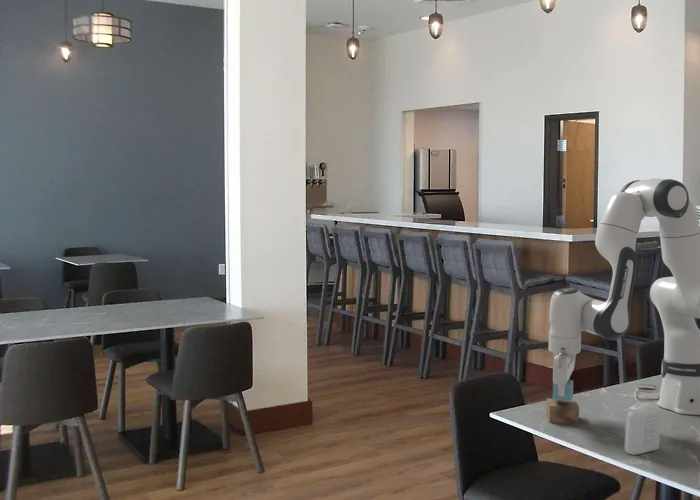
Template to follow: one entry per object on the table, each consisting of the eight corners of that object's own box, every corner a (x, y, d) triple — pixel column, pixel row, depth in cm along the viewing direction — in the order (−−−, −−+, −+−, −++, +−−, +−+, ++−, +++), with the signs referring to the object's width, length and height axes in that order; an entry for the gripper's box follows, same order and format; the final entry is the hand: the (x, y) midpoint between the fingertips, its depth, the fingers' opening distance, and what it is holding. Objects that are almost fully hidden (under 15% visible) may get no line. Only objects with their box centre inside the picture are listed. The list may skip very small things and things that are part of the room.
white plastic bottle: (647, 444, 205) (649, 398, 204) (661, 449, 202) (663, 401, 201) (621, 452, 200) (623, 403, 199) (636, 456, 196) (637, 407, 195)
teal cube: (572, 397, 228) (573, 380, 228) (570, 401, 224) (571, 384, 223) (554, 395, 230) (555, 378, 230) (552, 399, 225) (553, 382, 225)
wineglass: (627, 428, 219) (628, 385, 218) (646, 425, 222) (648, 383, 221) (644, 435, 213) (645, 391, 212) (664, 432, 215) (666, 389, 214)
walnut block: (574, 416, 231) (575, 399, 230) (578, 424, 223) (579, 407, 222) (546, 415, 232) (546, 398, 231) (549, 423, 224) (549, 405, 224)
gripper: (571, 353, 215) (570, 403, 216) (579, 339, 234) (578, 385, 235) (548, 351, 217) (546, 400, 218) (557, 338, 236) (556, 383, 237)
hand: (563, 393), depth 227 cm, fingers closed on teal cube, 5 cm apart
